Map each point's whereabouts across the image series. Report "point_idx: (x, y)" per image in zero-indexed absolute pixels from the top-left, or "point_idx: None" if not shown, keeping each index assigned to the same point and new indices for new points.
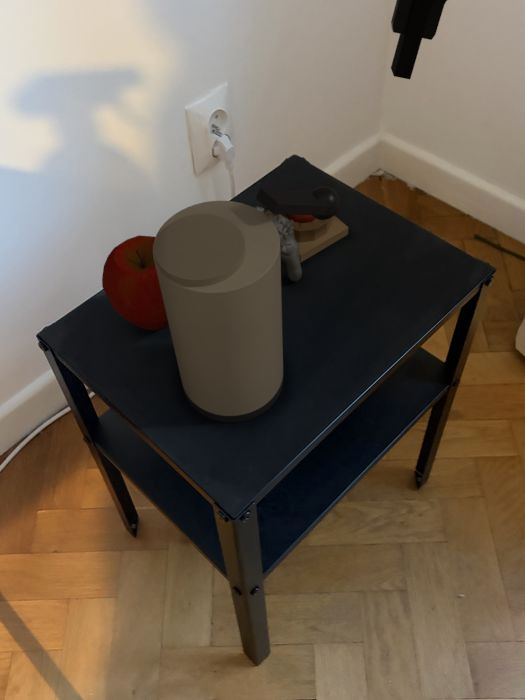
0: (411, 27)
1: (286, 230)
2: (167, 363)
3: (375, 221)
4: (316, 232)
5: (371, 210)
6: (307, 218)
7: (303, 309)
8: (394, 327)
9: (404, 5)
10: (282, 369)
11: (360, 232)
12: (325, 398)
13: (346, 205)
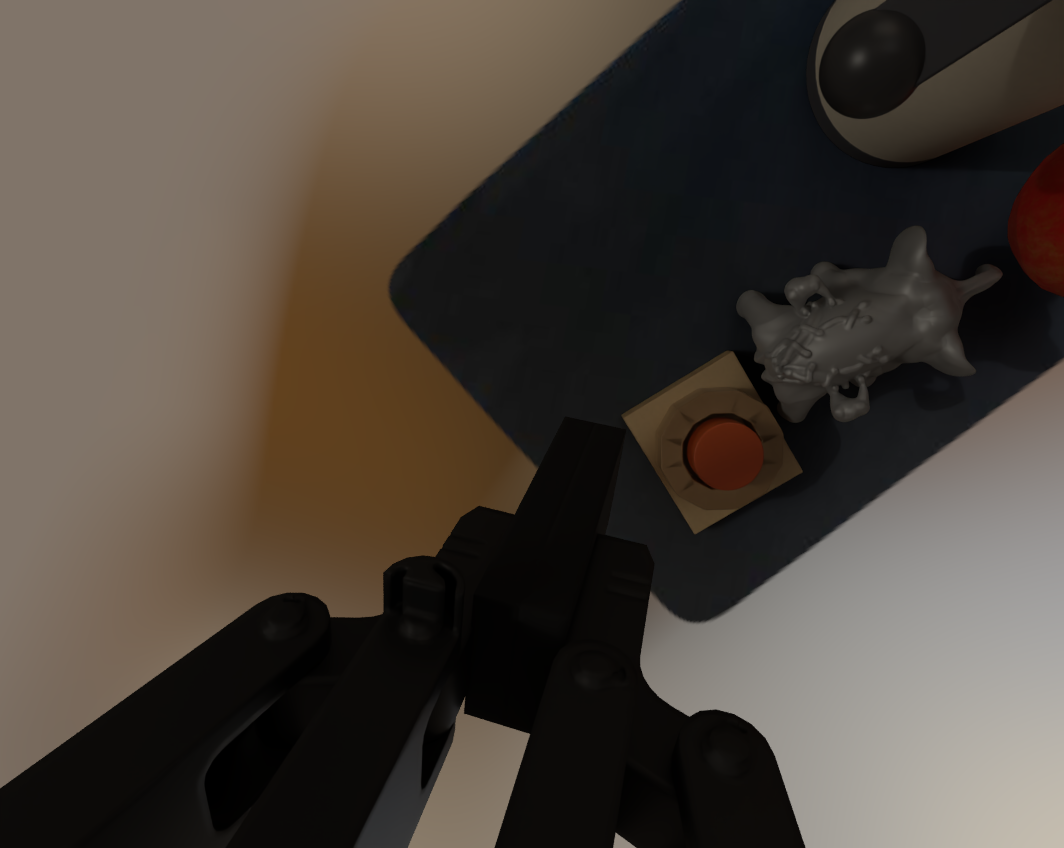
0: (577, 524)
1: (797, 337)
2: None
3: None
4: (699, 392)
5: None
6: (718, 420)
7: (740, 228)
8: (576, 163)
9: (612, 618)
10: (831, 22)
11: (595, 418)
12: (736, 4)
13: None
